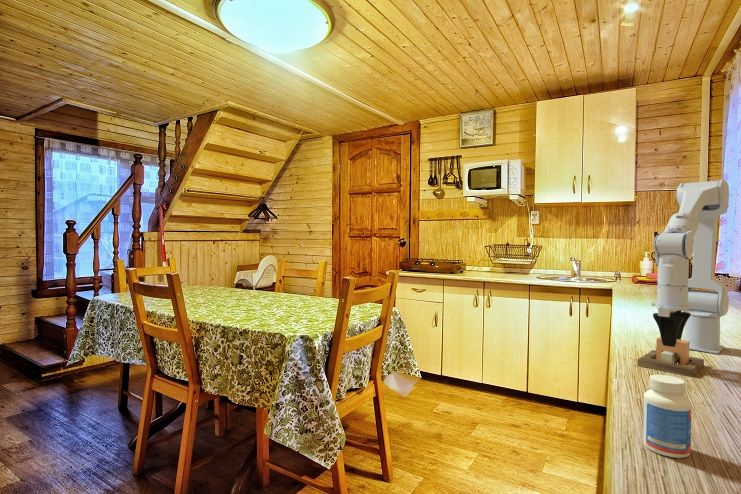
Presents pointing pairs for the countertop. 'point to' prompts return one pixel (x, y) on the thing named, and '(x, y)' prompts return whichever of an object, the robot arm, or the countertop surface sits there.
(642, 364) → the brown rectangular frame
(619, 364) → the countertop surface
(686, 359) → the orange block
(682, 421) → the pill bottle
